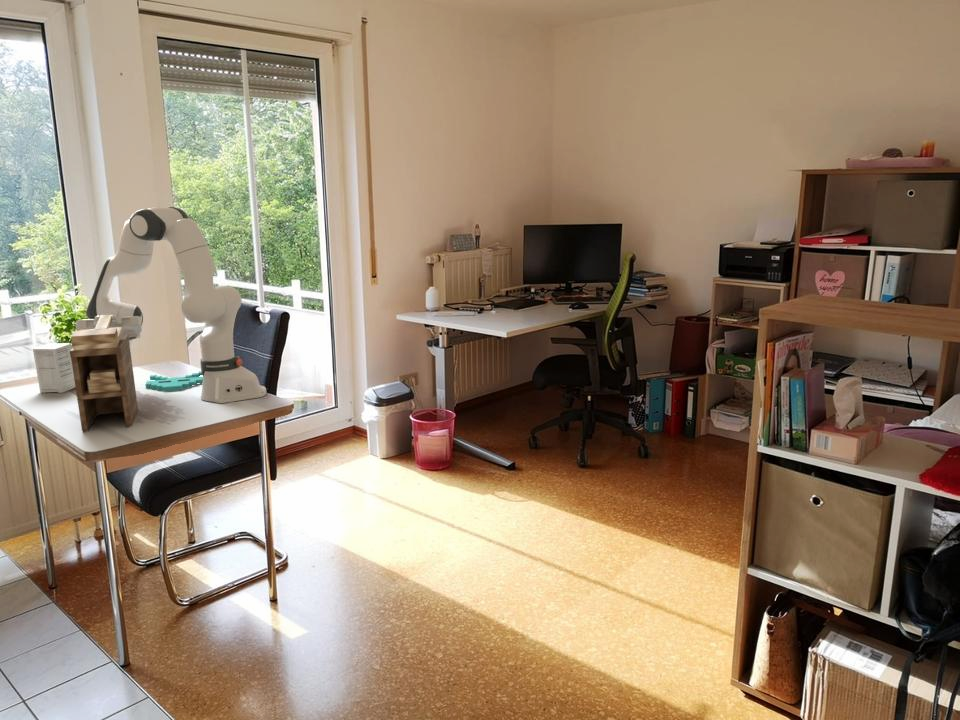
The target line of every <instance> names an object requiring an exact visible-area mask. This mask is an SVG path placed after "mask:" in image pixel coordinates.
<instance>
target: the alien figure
mask: <svg viewBox="0 0 960 720" xmlns="http://www.w3.org/2000/svg"><path fill="white" fill-rule="evenodd" d="M200 375H202V373H201V370H200V371H198V372H194V373H191V374H186V375H185V376H179V377H178V376H177V377H168V376H163V375H157V374H152V375H151V374H150V375H149V380H147V381H146V382H145V389H146V388H148V389H154V390H156V391H157V390H160V391H162V392H163V391H167V392H175V391H174V390H179V391H182V390H183V389H182V388H185V389H189V388H190V387H189V386H191V387H193V386H192V385H196V384H197V383H203V377H199V376H200ZM150 380H155V381H150ZM197 385H198V384H197ZM197 385H196V386H197ZM188 387H189V388H188Z"/></svg>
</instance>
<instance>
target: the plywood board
mask: <svg viewBox="0 0 960 720" xmlns="http://www.w3.org/2000/svg"><path fill="white" fill-rule="evenodd" d="M111 318H112V317H111V315H101V316H100V318H99V320H98V322H97V324H96V327H95V329H88V330H80V331H77V330H74V331H73V332H72V333H71V336H70V338H71V345H72V348H73V350H87V349H100V348H113V347H117V346H118V343H119V340H120V337H121V335H122V332H123V331H122V327H116V328H110V326H111V324H112V320H111Z"/></svg>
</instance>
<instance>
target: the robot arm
mask: <svg viewBox="0 0 960 720" xmlns="http://www.w3.org/2000/svg"><path fill="white" fill-rule="evenodd" d="M119 236H120V237H119V241H118V248H117V251H116V252H115V254H114V255H113V256H110V257H108V258H107V259H106V260H105V262H104V264H103V266H102V269H101V271H100V274H99V276H98V279H97V281H96V285H95V288H94V290H93V294H92V296H91V298H90V300H89V303H88V305H87V306H86V309H85V311H86V312H85V315H86V318H88V319H77V320H76V321H75V329H76V330H75V331H80V330H88V329H95V327H96V324H97V322H98V320H99V318H100V316H101V315H111V317H112V318H111V320H112V324H111V326H110V328H116V327H122V331H123V332H122V335H129V344H130V350H131V349H132V347H133V342H134V341H133V340H135V339H140V338H141V334H142V328H143V327H142V326H143V322H144V315H143V312H142V310H141V308H140V307H139V306H138V305H136V304H135V305H134V304H132V303H131V304H130V303H127V302H121V301H118V300H114V299H110V298H109V296H108V294H109V292H110V288H111V286H112V283H113V280H114V278H117V277H120V276H129V275H135V274H139V273H141V272H144V271H145V270H147V269H148V268H149V267H150V265H151V261H152V257H153V251H154V244H155V242H156V241H157V242H160V241H161V240H162V241H165V240H166V241H167V242H168V243H169V244H170V245H171V247H172V250H173V253H174V255H175V257H176V260H177V263H178V266H179V268H180V271H181V274H182V277H183V282H184V283H183V284H184V296H183V299H182V301H181V305H180V306H181V312H182V315H183V316H184V318H185V319H187V321H188V322H190V323H193V324H195V323H196V324H204V328H203V329H202V332H201V334H200V335H199V349H200V356H201V358H200V363H199V364H200V365H199V366H200V371H201V373H202V375H203V384H202V390H201V393H200V394H201V395H200V399H201V400H202V401H206V402H211V403H212V402H214V403H218V404H225V403H232V402H238V401H243V400H251V399H257V398H258V399H259V398H262V397H264V396H266V394H267V388H266V386H265V385H262V384H260V381H259V378H258V377H257V375H256V374H255V373H254V372H252V371H251V370H249V369H247V368H246V367H244V366H243V365H242V364H243V361H242V359H241V357H240V356H236V355H235V348H234V327H235V322H236V317H237V313H238V311H239V309H240V308H241V305H242V302H243V301H242V296H241V293H240V292H239V290H238V289H236V288H235V287H233V286H229V285H217V286H215V285H214V273H215V272H216V264H215V262H214V258H213V255H212V253H211V250H210V249H209V245H208V243H207V241H206V238H205V236H204V234H203V233H202V231H201V229H200V227H199V225H198V224H197V222H196V221H194V220H193V219H191V218H189V216H188V214H187V213H186V212H185V211H184V210H183V209H181V208H178V207H174V206H168V207H164V206H163V207H162V206H161V207H160V206H155V207H149V208H141V209H138V210H136V211H134V212H133V213H132V214H131V216H130V217H129V219H127V220H126V221H125V222H124V224H123V228H122V230H121V234H120V235H119Z"/></svg>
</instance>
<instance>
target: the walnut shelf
mask: <svg viewBox="0 0 960 720" xmlns="http://www.w3.org/2000/svg"><path fill="white" fill-rule="evenodd" d="M131 354H132V353H131V349H130V344H129V335H121V337H120V340H119V343H118V346H117V347H113V348H100V349H87V350H73V347H72V349H71V350H70V357H71V361H72V367H73V374H74V381H75V393H76V398H77V407H78V413H79V419H80V424H81V425H80V426H81V432H82V431H83V432H82V433H86V432H85V431H88V432H89V430H90V428H91V426H92V425H91V424H93V423H94V421H95V419H96V418H97V416H98V415H99V416H100V415H106V414H107V415H109V414H118V413H119V414H120V413H123V414H124V420H125V427H126V428H131V427H130V426H132V427H133V424H134V422H133V421H135V419H136V417H135V416H137V413H138V412H139V411H138V410H139V406H138V398H137V390H136V384H135V375H134V370H133V369H134V368H133V361H132V360H133V359H132V355H131Z"/></svg>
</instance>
